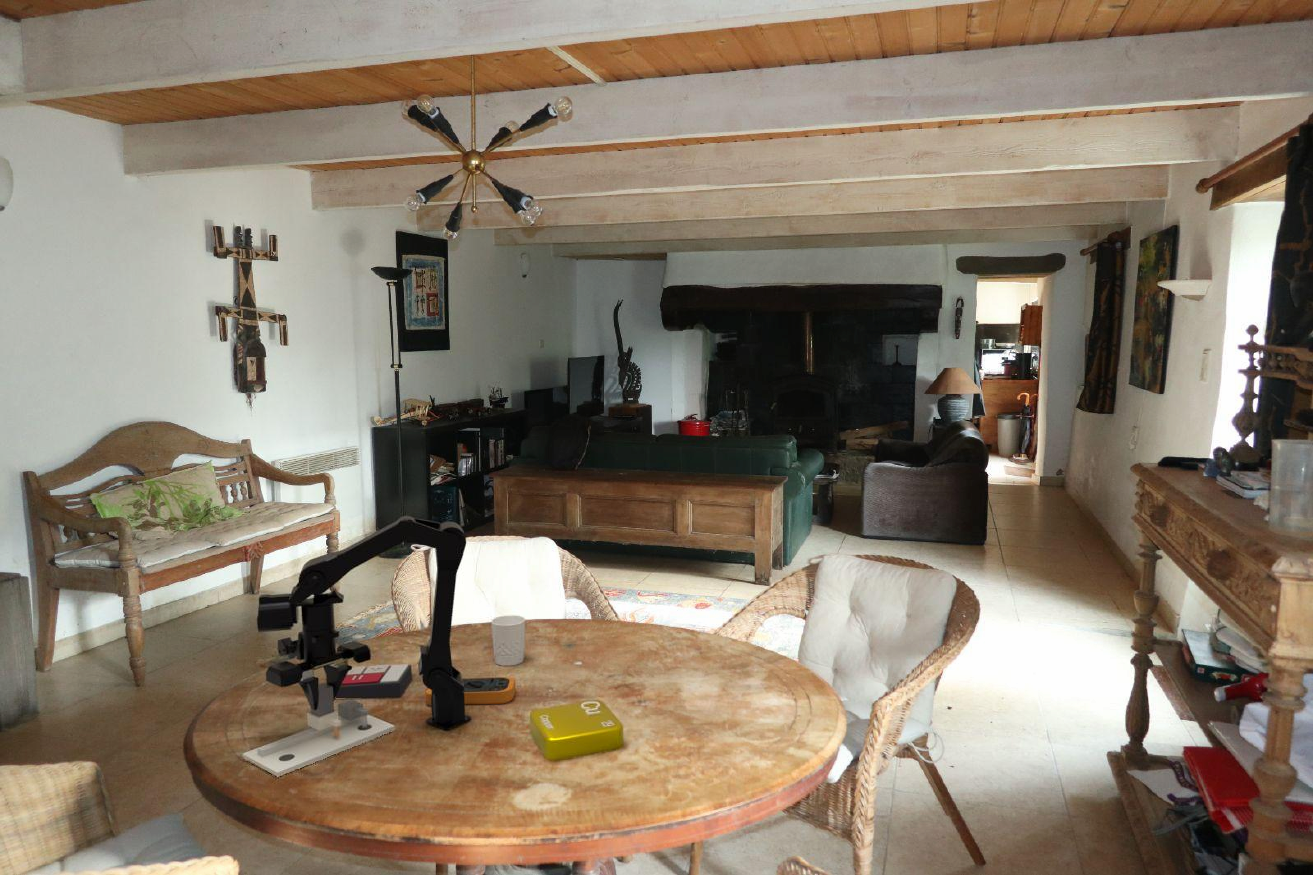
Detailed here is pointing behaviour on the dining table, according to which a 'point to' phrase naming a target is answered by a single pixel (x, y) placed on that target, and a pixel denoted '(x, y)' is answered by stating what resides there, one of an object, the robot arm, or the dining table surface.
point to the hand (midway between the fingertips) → (322, 706)
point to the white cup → (508, 639)
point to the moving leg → (324, 711)
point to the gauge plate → (320, 741)
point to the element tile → (575, 730)
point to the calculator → (376, 681)
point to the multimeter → (485, 690)
